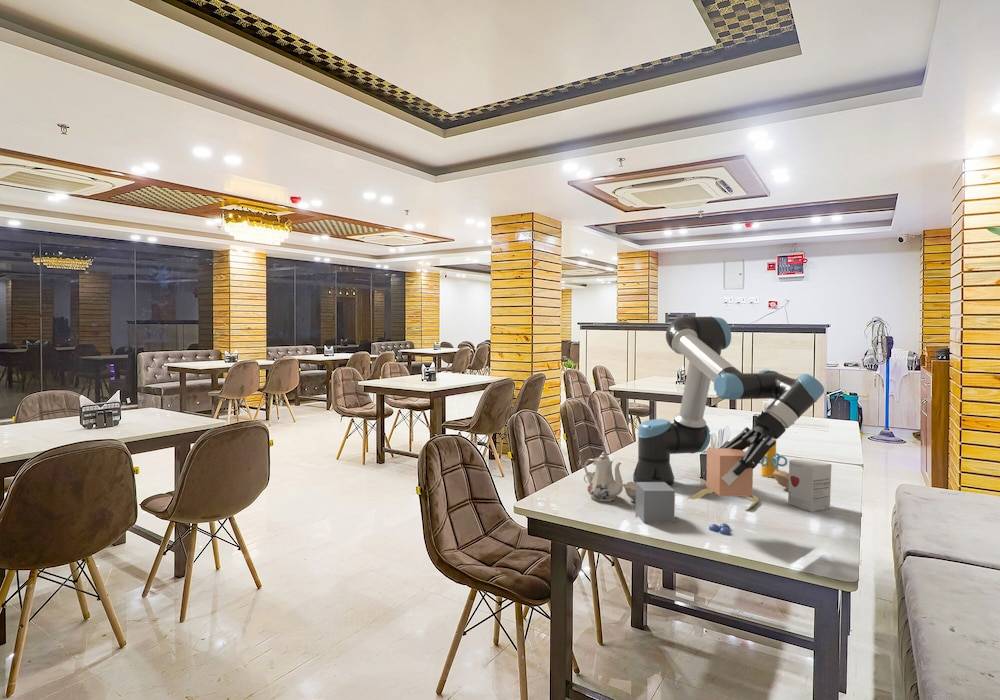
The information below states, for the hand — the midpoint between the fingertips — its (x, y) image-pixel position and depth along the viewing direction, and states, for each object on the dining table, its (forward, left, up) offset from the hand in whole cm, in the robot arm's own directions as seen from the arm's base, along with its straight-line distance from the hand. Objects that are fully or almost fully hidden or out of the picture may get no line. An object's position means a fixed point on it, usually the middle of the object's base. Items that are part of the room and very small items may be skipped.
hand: (717, 476), depth 149 cm
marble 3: (+2, +1, -15) cm, 16 cm away
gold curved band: (-14, +27, -18) cm, 35 cm away
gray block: (-18, -4, -17) cm, 25 cm away
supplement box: (+5, +49, -17) cm, 52 cm away
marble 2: (0, +4, -15) cm, 16 cm away
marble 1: (-1, +1, -15) cm, 16 cm away
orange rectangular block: (+2, +3, -4) cm, 5 cm away
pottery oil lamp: (-6, +63, -17) cm, 65 cm away
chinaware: (-43, +5, -17) cm, 46 cm away
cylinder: (-20, +77, -17) cm, 81 cm away
